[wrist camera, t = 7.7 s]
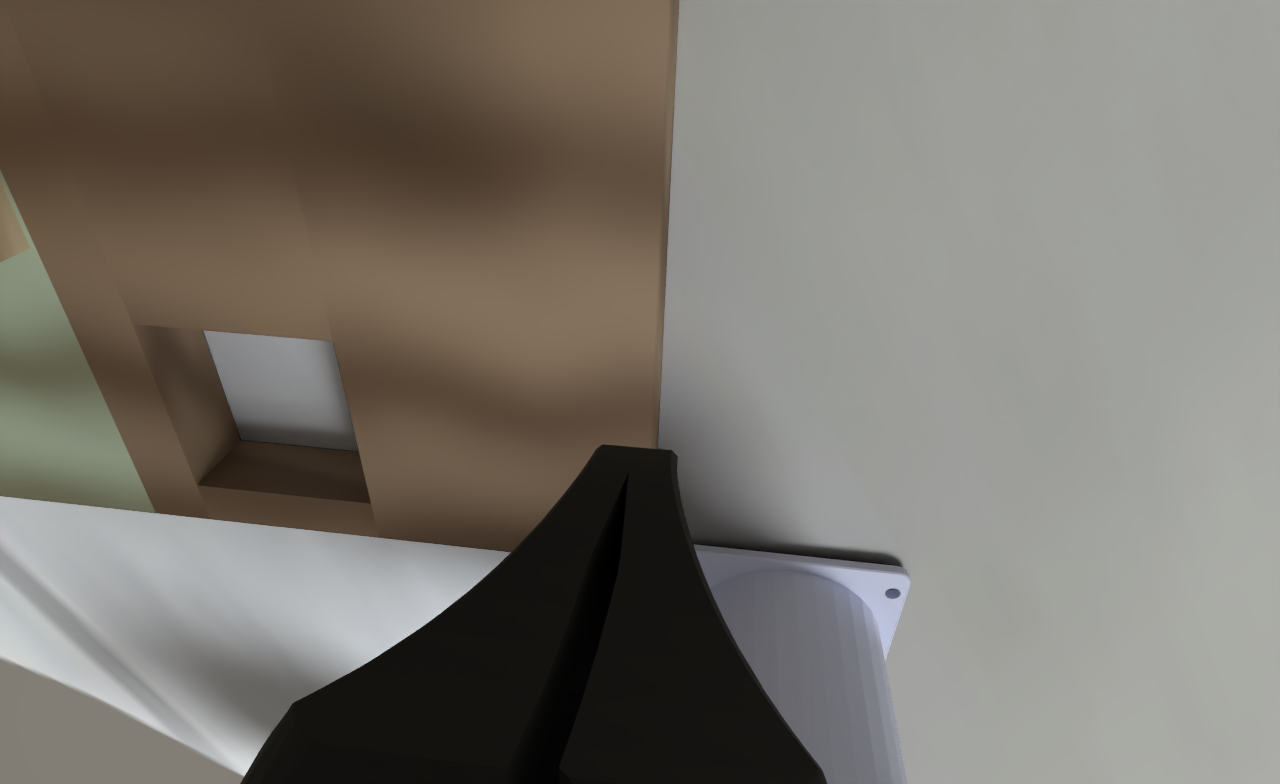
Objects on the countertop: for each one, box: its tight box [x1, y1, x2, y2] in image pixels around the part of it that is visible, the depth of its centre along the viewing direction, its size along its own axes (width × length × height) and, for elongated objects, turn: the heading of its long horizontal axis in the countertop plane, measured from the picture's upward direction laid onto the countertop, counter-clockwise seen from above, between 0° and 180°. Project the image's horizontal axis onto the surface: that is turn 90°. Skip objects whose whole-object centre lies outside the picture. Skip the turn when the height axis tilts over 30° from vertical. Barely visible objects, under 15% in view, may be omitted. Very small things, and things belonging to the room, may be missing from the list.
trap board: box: [0, 0, 679, 552], centre depth 19 cm, size 24×24×2 cm
